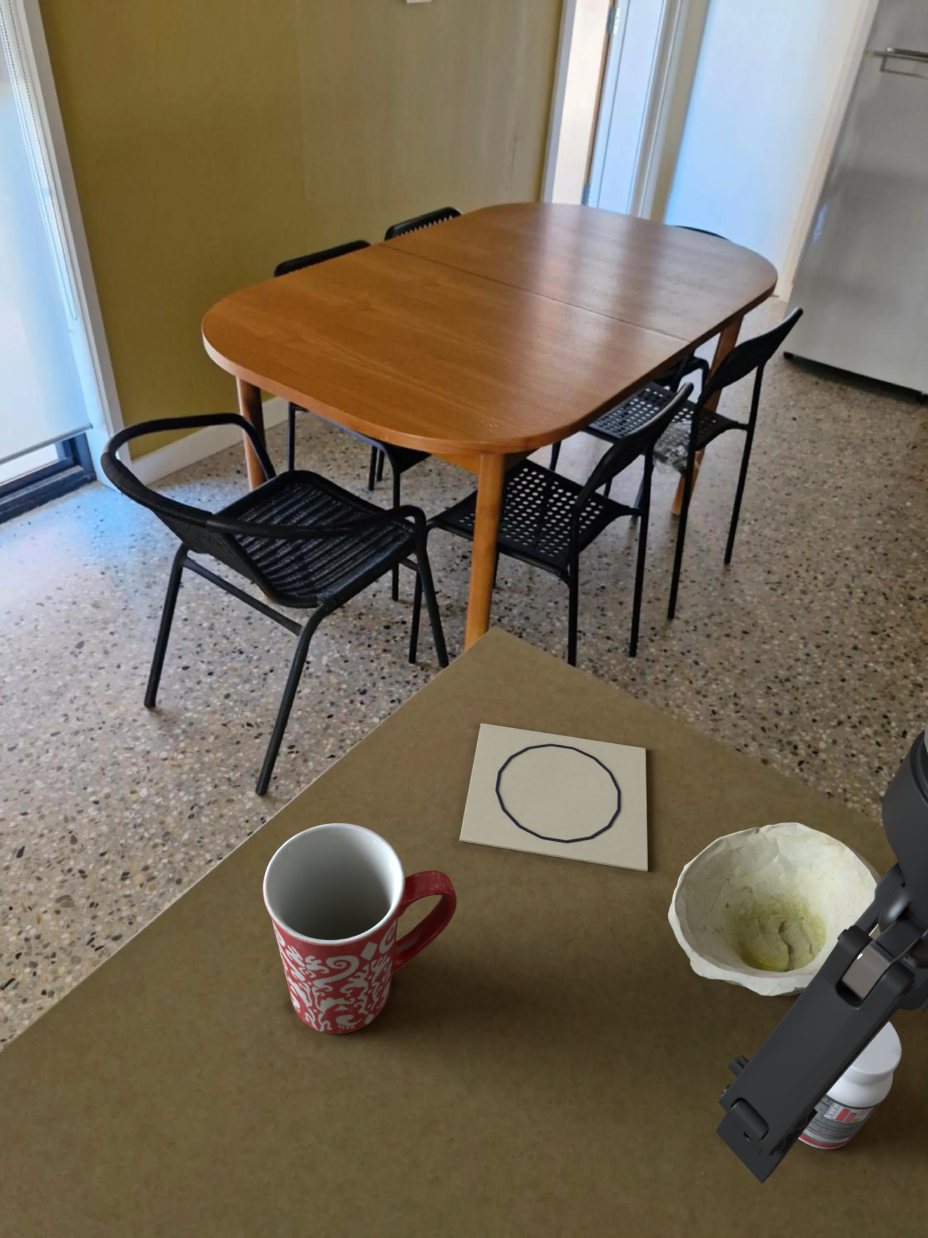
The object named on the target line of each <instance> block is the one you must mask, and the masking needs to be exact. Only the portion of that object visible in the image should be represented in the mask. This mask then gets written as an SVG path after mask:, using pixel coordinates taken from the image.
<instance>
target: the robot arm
mask: <svg viewBox="0 0 928 1238" xmlns="http://www.w3.org/2000/svg"><path fill="white" fill-rule="evenodd" d="M881 823H882V827H883V831H884V835H885V838H886V840H887V843H888V844H889V847H890V849H891V850H892V852H893V854H894V856H895V859H896V861H897V862H896V863H894V865H893V866H891V868H890V869H889V870H888V871H887V872H886V873H885V875H884V876H883V877H882V878H881V881H880V882H879V883H878V885H877V886H876V888H875V893H874V900H873V902H872V903H871V904H870V906H869V907H868V908H867V909H866V910H865V912H864V913H863V914H862V915H861V916H860V918H859V919H858V920H857V921H856V922H855V924H854V925H852V926H850V927H849V928H848V930H847V929H844V930H843V931H842V932H841V934H840V935H839V936H838V938H837V939H838V942H837V944H836V945H835V947H834V948H833V950H832V951H831V953H830V954H829V956H828V957H827V959H826V960H825V962H824V964H823V965H822V967H821V968H820V970H819V971H818V973H817V974H816V975H815V976H814V978H813V979H812V980H811V982H810V983H809V984H808V986H807V987H806V988H805V989H804V991H803V992H802V993H800V994H799V996H798V997H797V998H796V1000H795V1001H794V1002H793V1003H792V1005H791V1006H790V1007H789V1009H787V1011H786V1013H785V1014H784V1015H783V1016H782V1018H781V1019H780V1021H779V1022H777V1025H776V1026H775V1027H774V1028H773V1030H772V1031H771V1032H770V1034H768V1036H767V1038H766V1039H765V1040H764V1041H763V1043H762V1044H761V1045H760V1047H759V1048H758V1049H757V1050H756V1051H755V1052H754V1054H753V1055H752V1057H751V1058H750V1060H749V1059H747V1058H746V1056H745V1055H743V1054H740V1055H738V1056H736V1057H734V1058H732V1060H730V1062H729V1064H728V1065H727V1068H728V1069H729V1070H730V1072H732V1073H733V1075H734V1076H735V1077H736V1078H735V1079H734V1080H733V1081H732V1083H729V1084H727V1085H726V1086H725V1087H724V1088H723V1089H722V1091H721V1095H720V1096H719V1098H718V1102H717V1103H718V1104H719V1105H720V1106H721V1107H722V1109H723V1110H724V1111H725V1112H726V1113H725V1115H723V1118H722V1119H721V1120H720V1122H719V1124H718V1126H717V1128H716V1130H715V1133H716V1135H718V1136H719V1138H720V1139H721V1140H722V1141H723V1143H725V1144H726V1145H727V1146H728V1148H729V1149H730V1151H732V1152H733V1153H734V1155H735V1156H736V1157H737V1158H738V1159H739V1160H740V1161H741V1163H742V1164H743V1165H744V1166H745V1167H746V1168H747V1169H748V1170H749V1171H750V1173H751V1174H752V1175H753V1176H754V1177H755V1179H757V1180H758V1182H759V1183H760V1184H761V1185H763V1184H764V1183H765V1182H766V1181H767V1179H769V1178H770V1176H772V1175H773V1173H774V1172H775V1171H776V1169H777V1168H778V1166H779V1165H780V1164H781V1162H782V1160H784V1159H785V1157H786V1156H787V1154H788V1153H789V1152H790V1150H791V1149H792V1148H793V1146H794V1145H795V1144H796V1142H797V1141H798V1140H799V1139H798V1138H799V1137H800V1136H801V1134H802V1133H803V1132H804V1130H805V1129H806V1128H807V1126H808V1125H809V1124H810V1122H811V1121H812V1120H813V1118H814V1117H815V1116H816V1114H817V1113H818V1111H817V1110H816V1109H815V1107H816V1105H817V1104H818V1103H819V1102H820V1101H821V1100H822V1098H823V1097H824V1096H825V1095H826V1094H827V1093H828V1091H829V1090H830V1089H831V1088H832V1087H833V1086H834V1085H835V1083H836V1082H837V1081H838V1080H839V1079H840V1078H841V1076H842V1075H843V1074H844V1073H845V1072H846V1071H847V1069H848V1068H849V1067H850V1066H851V1065H852V1064H853V1062H854V1061H855V1060H856V1059H857V1058H858V1057H859V1055H860V1054H861V1053H862V1052H863V1051H864V1050H865V1048H866V1047H867V1046H868V1045H869V1044H870V1043H871V1041H872V1040H873V1039H874V1038H875V1037H876V1036H877V1034H878V1033H879V1032H880V1031H881V1030H882V1029H883V1027H884V1026H885V1025H886V1024H887V1023H888V1022H890V1020H891V1019H893V1017H894V1016H895V1015H896V1014H897V1012H898V1011H899V1010H905V1011H916V1010H917V1009H918V1010H920V1011H921V1012H922V1013H924V1012H925V1011H926V1010H927V1009H928V720H927V721H926V725H925V728H924V729H923V730H922V731H921V732H919V733H918V735H917V736H916V737H915V739H914V740H913V742H912V744H911V745H910V747H909V750H908V751H907V753H906V755H905V756H904V758H903V760H902V762H901V763H900V766H899V767H898V769H897V771H896V772H895V774H894V776H893V778H892V780H891V781H890V783H889V785H888V786H887V789H886V790H885V793H884V795H883V799H882V803H881ZM877 924H878V925H879V930H880V935H879V936H878V937H877V938H876V939H875V940H873V938H872V937H870V936H869V934H870V933H871V932H872V930H873V929H874V928H875V927H876V926H877Z"/></svg>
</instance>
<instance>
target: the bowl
mask: <svg viewBox="0 0 928 1238" xmlns="http://www.w3.org/2000/svg"><path fill="white" fill-rule="evenodd" d="M881 880H882V877H881V875H880V874H879V873H878V871H877V870H876V869H875V867H874V866H873V865H872V864H871V863H870V862H869V861H868V860H867V859H866V858H864V857H863V856H862V855H861V854H860V853H859V852H858V851H857V850H855V849H854V848H852V847H851V846H849V845H848V844H847V843H845V842H844V841H842V840H840V839H838V838H837V837H835V836H832V835H830V834H828V833H825V832H823V831H820V830H817V829H814V828H811V826H808V825H805V824H803V823H800V822H795V821H794V822H792V821H791V822H790V821H789V822H787V821H786V822H780V823H776V824H767V825H764V826H762V827H759V826H756V827H750V828H748V829H744V830H739V831H735V832H733V833H732V832H731V833H729V834H726V835H722V836H719V837H718V838H716V839H715V840H713V841H712V842H711V843H710V844H708V845H707V846H706V847H705V848H703V850H702V851H701V852H699V853H698V854H697V855H696V856H695V857H693V858H692V860H690V861H688V862H687V863H686V864H685V865H684V866H683V870H682V872H681V873H680V875H679V877H678V880H677V884H676V887H675V889H674V891H673V894H672V899H671V903H670V906H669V910H668V914H667V919H668V922H669V924H670V927H671V928H672V931H673V933H674V935H675V938H676V940H677V942H678V944H679V945H680V947H681V948H682V949H683V950H684V952H685V954H686V956H687V957H688V959H689V962H690V963H689V964H690V967H691V969H692V970H693V972H694V973H695V974H697V975H698V976H700V977H704V978H706V979H709V980H722V981H724V982H725V983H728V984H729V985H730V984H731V985H735V986H740V987H743V988H747V989H749V990H751V991H752V992H755V993H757V994H758V995H759V996H764V997H765V996H768V997H774V996H775V997H776V996H783V997H784V996H785V997H791V996H796V995H800V994H801V993H802V992H803V991H804V989H805V988H806V987H807V986H808V984H809V983H810V982H811V980H812V979H813V978H814V976H815V975H816V974H817V973H818V971H819V970H820V968H821V967H822V965H823V964H824V962H825V960H826V959H827V957H828V956H829V954H830V953H831V951H832V950H833V948H834V947H835V945H836V944H837V942H838V939H837V938H838V936H839V935H840V934H841V932H842V931H843V930H844V929H847V930H848V928H849V927H850V926H852V925H854V924H855V922H856V921H857V920H858V919H859V918H860V916H861V915H862V914H863V913H864V912H865V910H866V909H867V908H868V907H869V906H870V904H871V903H872V902H873V900H874V893H875V888H876V886H877V885H878V883H879V882H880V881H881ZM879 935H880V930H879V925H878V924H877V926H876V927H875V928H874V929H873V930H872V932H871V933H870V934H869V936H870V937H872V938H873V940H875V939H876V938H877V937H878V936H879Z"/></svg>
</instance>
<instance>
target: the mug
mask: <svg viewBox="0 0 928 1238" xmlns="http://www.w3.org/2000/svg"><path fill="white" fill-rule="evenodd" d="M262 895H263V900H264V905H265V908H266V910H267V912H268V914H269V916H270V918H271V920H272V926H273V930H274V934H275V938H276V941H277V946H278V949H279V954H280V958H281V962H282V966H283V972H284V975H285V978H286V982H287V987H288V992H289V996H290V1000H291V1003H292V1006H293V1009H294V1011H295V1012H296V1014H297V1016H298V1017H299V1018H300V1020H301V1021H303V1022H304V1023H305V1024H306V1025H307V1026H308V1027H310V1028H311V1029H314V1030H316V1031H318V1032H320V1033H323V1034H329V1035H344V1034H346V1035H347V1034H349V1033H354V1032H356V1031H359V1030H361V1029H363V1028H364V1027H366V1026H367V1025H369V1024H370V1023H371V1022H372V1021H374V1020H375V1019H376V1018H377V1017H378V1015H380V1014H381V1012H382V1011H383V1009H384V1007H385V1005H386V1003H387V1002H388V999H389V996H390V993H391V987H392V979H393V978H392V977H393V975H394V974H395V973H396V972H397V971H398V970H400V969H401V968H402V967H403V966H405V965H406V964H408V963H409V962H410V961H412V960H413V959H414V958H416V957H417V956H418V955H419V954H421V952H423V951H424V950H425V949H426V948H427V947H429V945H430V944H431V943H432V942H434V941H435V940H436V939H437V937H438V936H440V935H441V934H442V932H444V930H445V929H446V928H447V927H448V925H449V924H450V922H451V921H452V919H453V917H454V915H455V913H456V909H457V903H458V902H457V901H458V900H457V893H456V890H455V887H454V884H453V882H452V880H451V878H450V877H449V876H448V874H446V873H445V872H442V871H440V870H431V869H430V870H423V871H418V872H415V873H412V874H410V875H408V876H406V871H405V869H404V865H403V862H402V860H401V857H400V855H399V854H398V852H397V851H396V850H395V848H394V847H393V845H391V843H390V842H389V841H388V840H387V839H385V837H383V836H382V835H380V834H379V833H378V832H376V831H373V830H372V829H370V828H368V827H364V826H362V825H357V824H354V823H345V822H333V823H325V824H320V825H316V826H312V827H310V828H307V829H305V830H303V831H300V832H299V833H296V834H295V835H294V836H291V837H290V838H289V839H288V840H286V841H285V842H284V843H283V844H282V845H281V846H280V847H279V848H278V849H277V850H276V852H275V853H274V855H272V857H271V859H270V861H269V863H268V864H267V867H266V870H265V873H264V877H263V882H262ZM430 896H441V897H440V899H439V901H438V902H437V903H436V905H435V906H434V907H433V908H432V909H431V911H430V912H429V913H428V914H427V915H425V916H424V918H423V919H422V920H421V921H420V922H419V923H418V924H416V926H414V927H413V928H412V929H411V930H410V931H409V932H408V933H407V934H405V935H403V936H402V937H401V938H399V939H398V940H397V934H398V933H397V932H398V923H399V918H400V917H402V916H403V915H404V913H405V912H406V910H407V909H408V908H409V907H410V906H411V905H412V904H414V903H415V902H418V901H420V900H421V899H423V898H426V897H430Z"/></svg>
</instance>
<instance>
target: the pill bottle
mask: <svg viewBox="0 0 928 1238" xmlns="http://www.w3.org/2000/svg"><path fill="white" fill-rule="evenodd" d="M902 1051H903V1050H902V1043H901V1040H900V1037H899V1035H898V1033H897V1031H896V1028H895V1027H894V1025H893V1024H892V1023H891V1021H889V1022H888V1023H887V1024H886V1025H885V1026H884V1027H883V1029H882V1030H881V1031H880V1032H879V1033H878V1034H877V1036H876V1037H875V1038H874V1039H873V1040H872V1041H871V1043H870V1044H869V1045H868V1046H867V1047H866V1048H865V1050H864V1051H863V1052H862V1053H861V1054H860V1055H859V1057H858V1058H857V1059H856V1060H855V1061H854V1062H853V1064H852V1065H851V1066H850V1067H849V1068H848V1069H847V1071H846V1072H845V1073H844V1074H843V1075H842V1076H841V1078H840V1079H839V1080H838V1081H837V1082H836V1083H835V1085H834V1086H833V1087H832V1088H831V1089H830V1090H829V1091H828V1093H827V1094H826V1095H825V1096H824V1097H823V1098H822V1100H821V1101H820V1102H819V1103H818V1104H817V1105H816V1107H815V1109H816V1110H817V1111H818V1113H817V1114H816V1116H815V1117H814V1118H813V1120H812V1121H811V1122H810V1124H809V1125H808V1126H807V1128H806V1129H805V1130H804V1132H803V1133H802V1134H801V1136H800V1137H799V1138H798V1140H799V1141H801V1142H803V1143H805V1144H806V1145H808V1146H811V1147H812V1148H813V1147H814V1148H816V1149H822V1150H834V1149H837V1148H840V1147H843V1146H845V1145H847V1144H848V1143H849V1142H850V1141H851V1140H852V1139H853V1138H854V1136H856V1134H857V1133H858V1132H859V1131H860V1129H861V1128H862V1127H863V1125H864V1124H865V1123H866V1122H867V1120H868V1119H869V1118H870V1117H871V1115H872V1114H873V1113H874V1112H875V1111H876V1110H877V1109H878V1107H879V1106H880V1105H881V1103H882V1102H883V1101H885V1099H886V1097H887V1096H888V1094H889V1092H890V1091H891V1089H892V1085H893V1080H894V1072H895V1070H896V1069H897V1068H898V1065H899V1063H900V1061H901V1059H902Z"/></svg>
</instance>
